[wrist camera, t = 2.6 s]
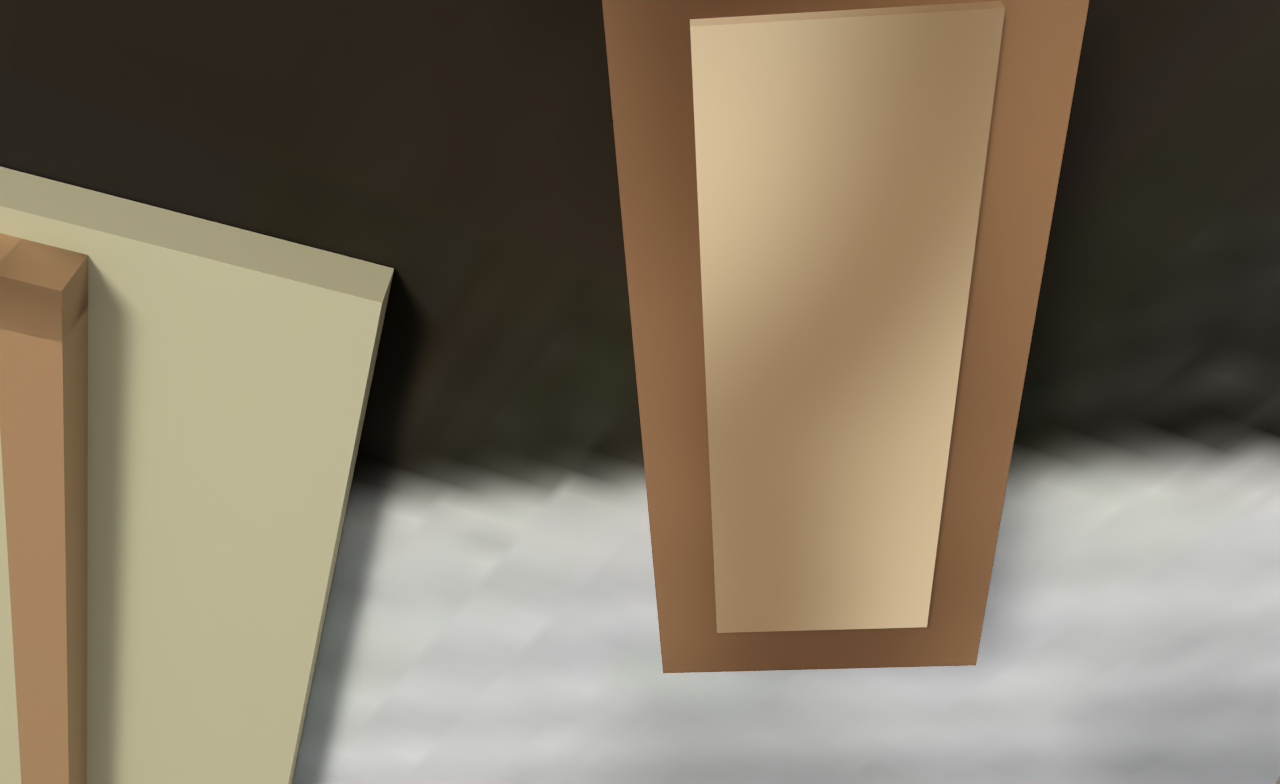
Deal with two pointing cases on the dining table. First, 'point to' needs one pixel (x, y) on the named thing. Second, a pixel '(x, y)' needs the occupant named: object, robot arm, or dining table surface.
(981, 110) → the wooden block
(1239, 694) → the dining table surface
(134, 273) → the mount board
